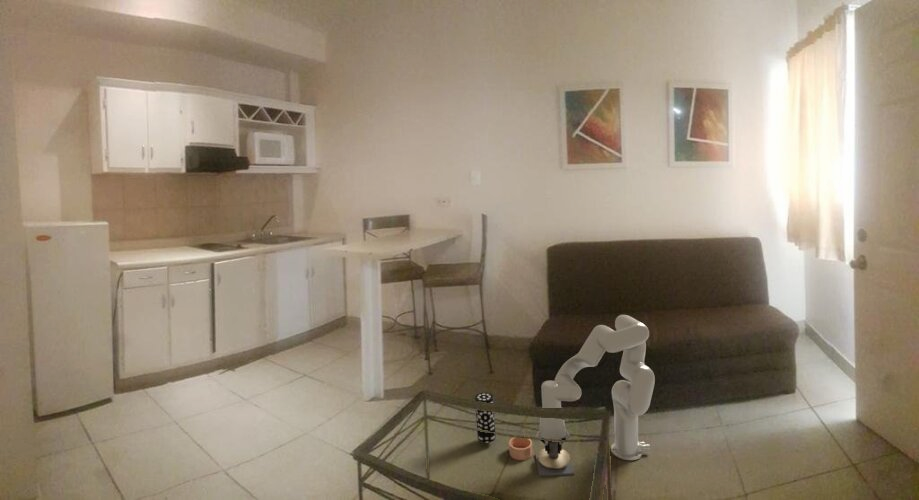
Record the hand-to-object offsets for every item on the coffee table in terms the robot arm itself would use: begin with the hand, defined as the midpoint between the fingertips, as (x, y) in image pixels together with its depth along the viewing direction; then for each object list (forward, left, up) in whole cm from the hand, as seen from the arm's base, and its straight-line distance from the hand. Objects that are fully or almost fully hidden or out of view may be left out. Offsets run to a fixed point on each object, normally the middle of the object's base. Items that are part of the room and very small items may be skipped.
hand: (553, 451), depth 186 cm
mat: (0, 0, -6) cm, 6 cm away
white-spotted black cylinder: (+28, -17, -3) cm, 33 cm away
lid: (0, 0, -3) cm, 3 cm away
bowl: (+13, -9, -6) cm, 17 cm away
